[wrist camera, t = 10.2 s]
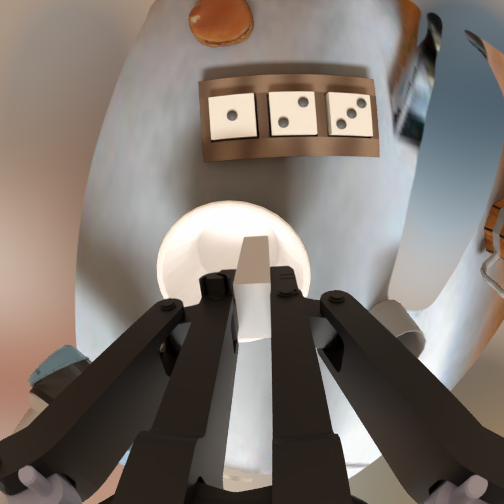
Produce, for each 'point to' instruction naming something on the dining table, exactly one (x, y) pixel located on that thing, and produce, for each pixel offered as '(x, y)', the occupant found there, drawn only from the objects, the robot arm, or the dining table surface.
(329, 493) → the robot arm
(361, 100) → the tile three
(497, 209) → the mug
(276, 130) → the tile two
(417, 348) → the cup
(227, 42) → the burger
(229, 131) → the tile one
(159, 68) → the dining table surface
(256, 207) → the bowl
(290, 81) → the board
